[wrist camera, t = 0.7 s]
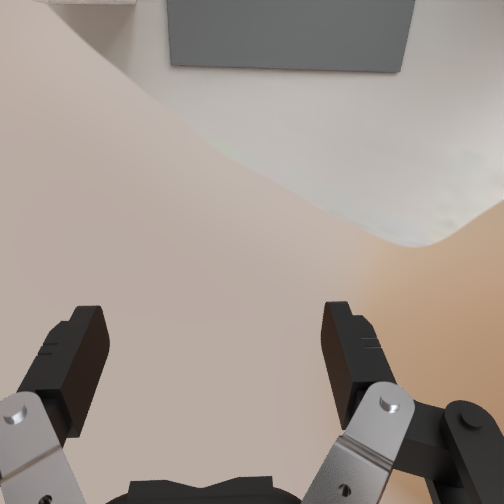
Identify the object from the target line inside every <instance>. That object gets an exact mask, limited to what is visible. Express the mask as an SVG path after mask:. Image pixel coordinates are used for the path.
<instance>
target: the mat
mask: <svg viewBox="0 0 504 504" xmlns="http://www.w3.org/2000/svg"><path fill="white" fill-rule="evenodd" d="M414 4H415V0H167V11H168V26H169V41H170V56H171V65H184V66H216V67H248V68H280V69H312V70H345V71H377V72H400V70H401V65H402V61H403V56H404V51H405V46H406V42H407V37H408V32H409V28H410V23H411V18H412V13H413V9H414Z"/></svg>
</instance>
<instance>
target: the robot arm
mask: <svg viewBox="0 0 504 504" xmlns="http://www.w3.org/2000/svg"><path fill="white" fill-rule="evenodd" d="M321 346H322V352H323V356H324V360H325V363H326V368H327V372H328V376H329V380H330V384H331V388H332V392H333V396H334V399H335V404H336V408H337V412H338V416H339V419H340V424H341V428H342V430H345V432H344V434H343V435H342V436H339V437H338V438H337V440H336V441H335V442H334V444H333V446H332V448H331V450H330V451H329V453H328V455H327V457H326V459H325V460H324V462H323V464H322V466H321V468H320V469H319V471H318V473H317V475H316V476H315V478H314V480H313V482H312V484H311V486H310V487H309V489H308V491H307V493H306V495H305V496H304V498H303V500H302V501H301V500H300V499H299V498H297V497H296V496H294V495H292V494H291V493H289V492H287V491H284V490H282V489H279V488H275V487H273V481H272V476H265V477H264V476H260V477H237V478H234V479H231V480H227V481H224V482H221V483H218V484H214V485H211V486H208V487H205V488H196V487H192V486H188V485H184V484H180V483H176V482H172V481H168V480H150V481H131V482H130V486H129V490H128V493H127V494H124V495H121V496H119V497H117V498H114V499H113V500H111V501H110V502H108V503H106V504H379V502H380V500H381V498H382V495H383V492H384V490H385V487H386V485H387V483H388V480H389V477H390V475H391V473H392V470H393V469H396V470H400V471H403V472H407V473H410V474H413V475H417V476H420V477H424V478H425V481H426V484H427V487H428V490H429V493H430V496H431V499H432V502H433V504H504V436H503V435H502V433H501V431H500V429H499V427H498V425H497V424H496V422H495V420H494V419H493V417H492V416H491V415H490V414H489V413H488V412H487V411H486V410H484V409H483V408H482V407H480V406H478V405H476V404H474V403H471V402H468V401H462V400H458V401H453V402H451V403H449V404H448V405H447V407H446V408H445V409H443V408H439V407H435V406H431V405H427V404H423V403H420V402H417V401H415V400H413V399H412V397H411V396H410V395H409V393H408V392H407V391H406V390H404V389H403V388H402V387H400V386H398V385H397V383H396V381H395V378H394V376H393V374H392V371H391V369H390V366H389V364H388V362H387V359H386V357H385V355H384V352H383V350H382V348H381V345H380V343H379V340H378V339H377V336H376V333H375V331H374V328H373V326H372V325H371V324H370V323H369V322H368V321H367V320H366V319H365V318H364V317H363V316H362V315H352V312H351V310H350V307H349V304H348V302H346V301H340V302H326V303H325V307H324V314H323V321H322V329H321ZM109 347H110V340H109V334H108V330H107V326H106V322H105V319H104V315H103V311H102V308H101V306H77V307H76V308H75V310H74V312H73V314H72V316H71V318H70V320H69V321H61V322H60V323H59V324H57V325H56V326H55V327H54V328H53V329H52V330H51V331H50V332H49V334H48V336H47V337H46V339H45V341H44V343H43V346H41V348H40V350H39V352H38V356H36V357H35V359H34V361H33V363H32V365H31V366H30V368H29V370H28V372H27V374H26V376H25V377H24V379H23V381H22V383H21V385H20V387H19V388H18V390H17V392H16V393H15V394H12V395H10V396H8V397H6V398H4V399H3V400H1V401H0V487H1V490H2V493H3V497H4V500H5V504H86V501H85V499H84V497H83V494H82V492H81V490H80V488H79V485H78V483H77V481H76V479H75V477H74V474H73V472H72V470H71V467H70V465H69V463H68V461H67V459H66V456H65V454H64V452H63V446H64V443H65V441H66V438H78V437H79V436H80V434H81V431H82V428H83V425H84V422H85V419H86V417H87V414H88V410H89V408H90V405H91V402H92V399H93V396H94V393H95V391H96V388H97V385H98V382H99V379H100V376H101V373H102V370H103V368H104V365H105V362H106V359H107V356H108V353H109Z"/></svg>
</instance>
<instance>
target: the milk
mask: <svg viewBox="0 0 504 504" xmlns="http://www.w3.org/2000/svg"><path fill="white" fill-rule="evenodd" d="M34 1H38V2H42V3H46V4H136V0H34Z"/></svg>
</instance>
